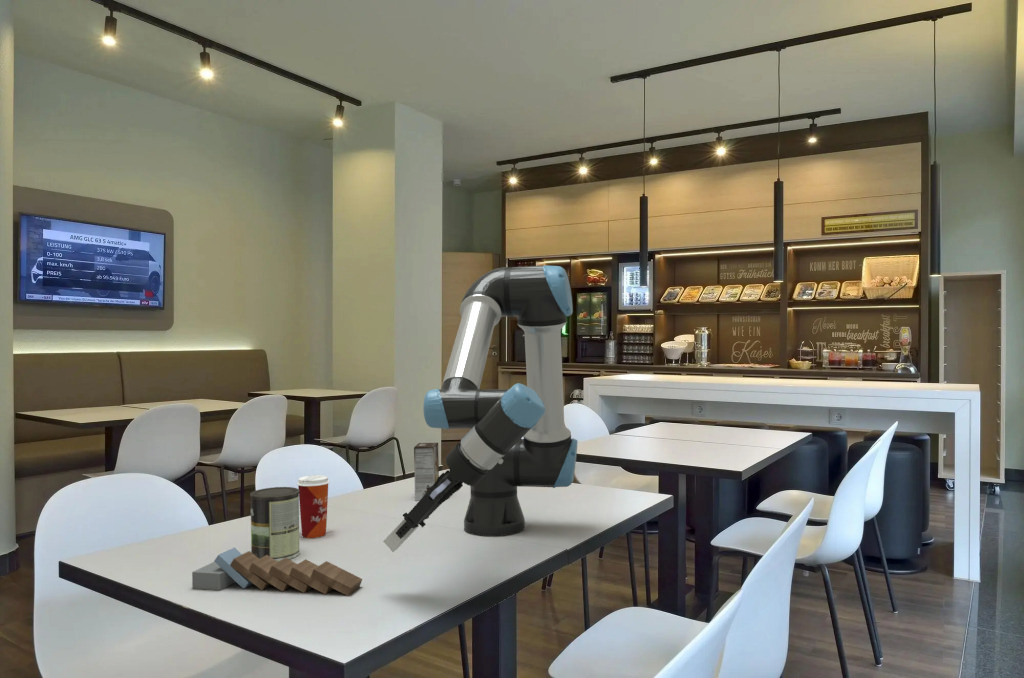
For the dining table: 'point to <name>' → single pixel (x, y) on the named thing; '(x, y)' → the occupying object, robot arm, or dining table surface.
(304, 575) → the domino
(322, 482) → the paper cup
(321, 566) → the domino
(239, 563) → the domino
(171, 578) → the dining table surface
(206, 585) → the block
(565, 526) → the dining table surface
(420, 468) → the coffee box
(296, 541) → the coffee can
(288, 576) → the domino
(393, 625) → the dining table surface
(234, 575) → the domino
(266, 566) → the domino
